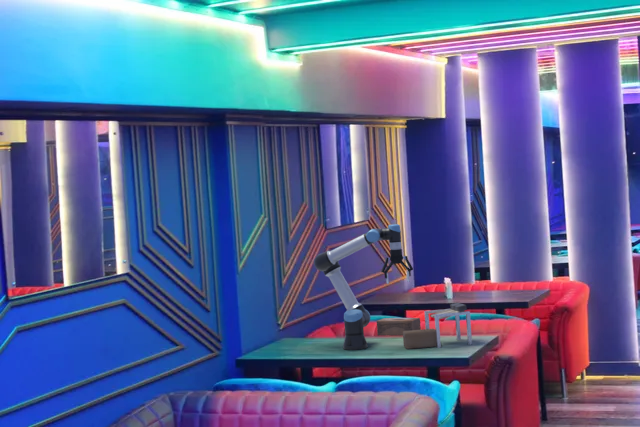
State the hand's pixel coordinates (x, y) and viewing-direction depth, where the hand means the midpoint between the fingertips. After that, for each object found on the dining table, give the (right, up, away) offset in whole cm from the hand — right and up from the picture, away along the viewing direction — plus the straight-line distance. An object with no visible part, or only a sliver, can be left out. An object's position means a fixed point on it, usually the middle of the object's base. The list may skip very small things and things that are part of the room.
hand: (398, 282), depth 601 cm
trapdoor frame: (+30, -37, -11) cm, 49 cm away
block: (+22, -33, -16) cm, 43 cm away
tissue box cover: (+4, -38, +44) cm, 59 cm away
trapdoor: (+30, -19, -11) cm, 37 cm away
